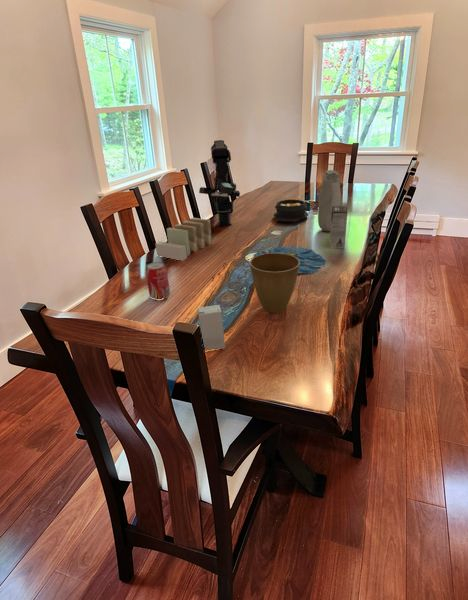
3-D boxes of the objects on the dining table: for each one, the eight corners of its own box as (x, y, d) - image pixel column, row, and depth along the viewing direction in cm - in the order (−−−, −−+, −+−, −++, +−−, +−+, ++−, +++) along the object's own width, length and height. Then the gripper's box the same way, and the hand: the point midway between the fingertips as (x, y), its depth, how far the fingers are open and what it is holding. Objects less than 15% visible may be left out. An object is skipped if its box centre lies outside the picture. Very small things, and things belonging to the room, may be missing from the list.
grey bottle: (340, 233, 189) (345, 172, 176) (319, 234, 189) (322, 173, 176) (336, 226, 198) (340, 168, 185) (315, 227, 198) (318, 169, 185)
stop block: (161, 254, 176) (159, 241, 173) (186, 259, 169) (185, 245, 166) (157, 256, 174) (155, 243, 171) (182, 261, 167) (180, 248, 164)
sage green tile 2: (187, 243, 187) (185, 220, 182) (205, 246, 182) (202, 223, 177) (185, 245, 185) (182, 222, 180) (202, 248, 180) (200, 224, 175)
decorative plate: (330, 254, 171) (331, 242, 168) (320, 282, 145) (321, 269, 143) (263, 246, 179) (263, 235, 177) (242, 272, 154) (242, 259, 152)
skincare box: (223, 341, 112) (220, 303, 106) (225, 350, 108) (222, 311, 102) (201, 344, 111) (197, 306, 105) (203, 353, 107) (198, 314, 101)
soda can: (151, 293, 141) (145, 262, 136) (171, 292, 142) (166, 260, 136) (149, 302, 135) (143, 270, 130) (169, 301, 135) (165, 268, 130)
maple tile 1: (194, 240, 191) (192, 217, 186) (211, 243, 186) (209, 219, 181) (192, 241, 189) (189, 218, 184) (209, 244, 185) (207, 221, 179)
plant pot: (245, 316, 124) (243, 268, 116) (259, 295, 136) (258, 250, 129) (292, 322, 119) (293, 273, 111) (302, 300, 131) (304, 254, 124)
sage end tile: (172, 251, 179) (169, 227, 174) (190, 254, 174) (187, 230, 169) (169, 252, 177) (166, 228, 172) (187, 256, 172) (184, 231, 167)
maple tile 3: (180, 247, 183) (177, 224, 178) (197, 250, 178) (195, 226, 173) (177, 248, 181) (174, 225, 176) (195, 252, 176) (192, 228, 171)
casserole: (303, 225, 202) (304, 209, 198) (268, 224, 208) (267, 208, 204) (312, 212, 223) (312, 197, 219) (279, 211, 229) (279, 196, 225)
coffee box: (329, 241, 180) (331, 205, 172) (344, 241, 179) (347, 205, 171) (329, 248, 172) (332, 211, 164) (345, 248, 171) (348, 211, 163)
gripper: (210, 174, 173) (207, 211, 177) (247, 179, 182) (243, 213, 186) (199, 174, 182) (197, 209, 186) (235, 178, 191) (232, 211, 195)
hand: (218, 211), depth 188 cm, fingers closed
